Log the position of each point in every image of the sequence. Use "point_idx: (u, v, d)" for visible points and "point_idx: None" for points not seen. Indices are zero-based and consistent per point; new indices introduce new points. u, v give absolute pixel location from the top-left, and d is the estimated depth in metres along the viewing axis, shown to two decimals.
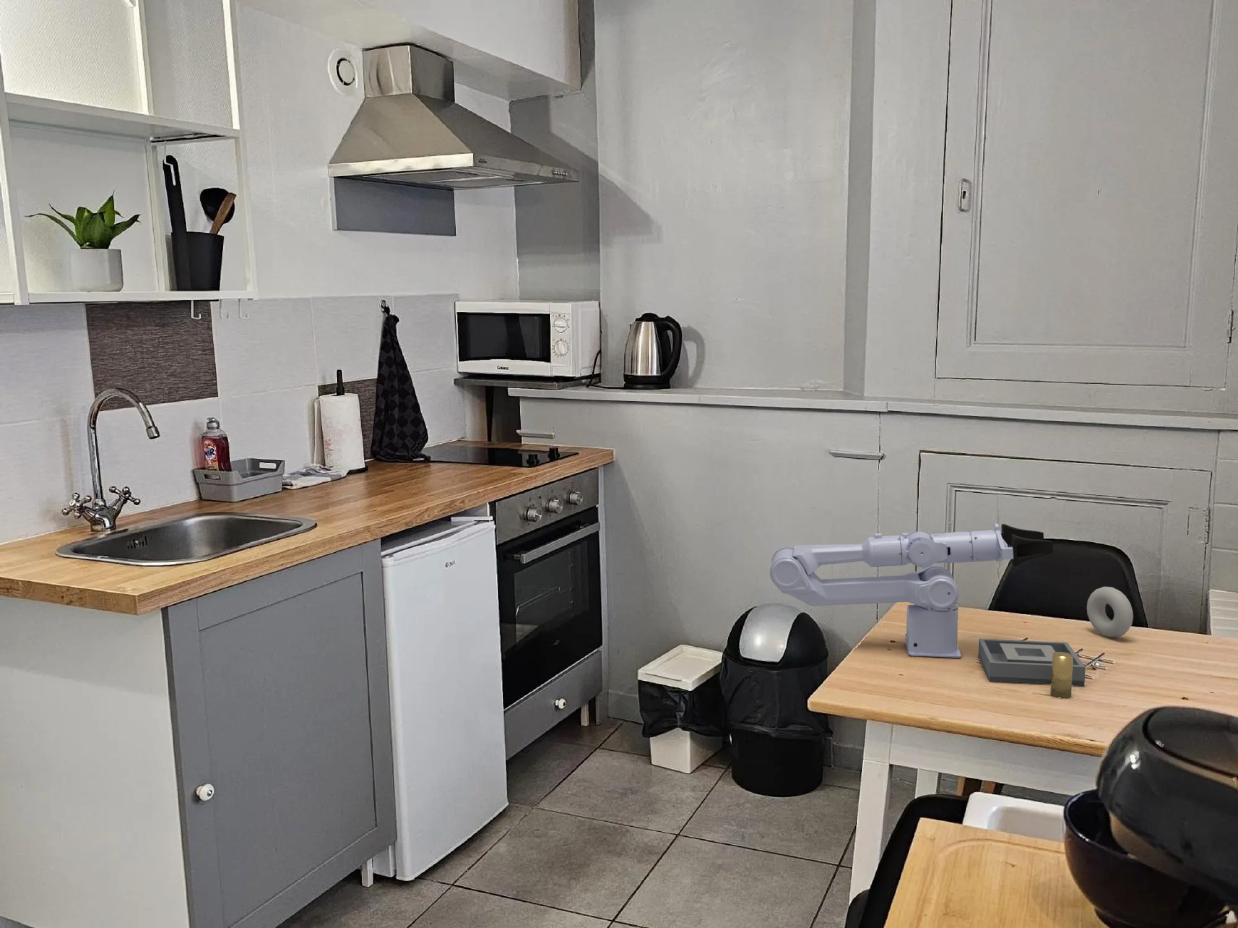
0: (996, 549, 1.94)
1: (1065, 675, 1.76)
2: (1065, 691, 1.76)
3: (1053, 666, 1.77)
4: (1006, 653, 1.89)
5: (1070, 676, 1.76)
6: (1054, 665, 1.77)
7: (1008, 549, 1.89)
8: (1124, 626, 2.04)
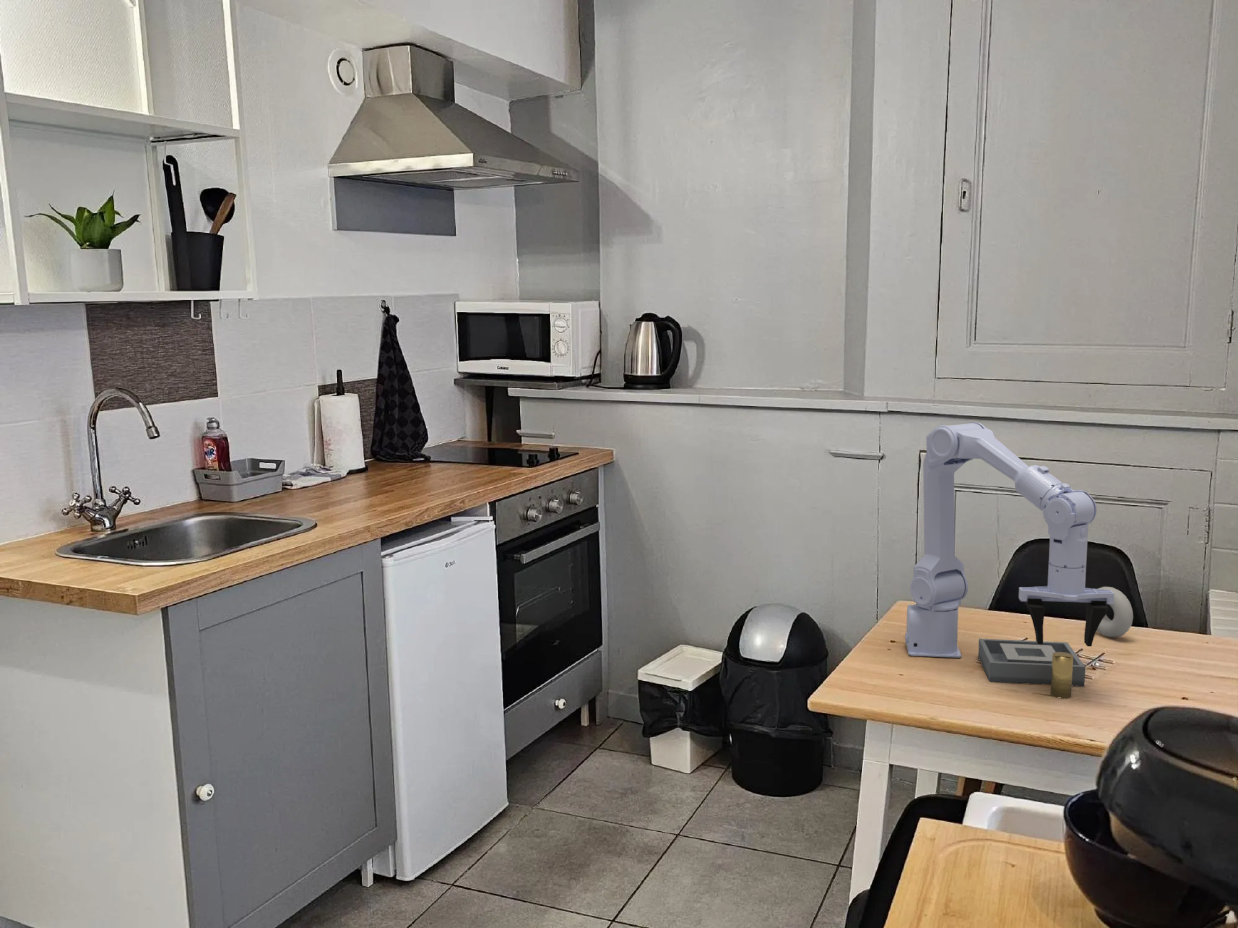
0: (1047, 587, 1.76)
1: (1065, 675, 1.76)
2: (1065, 691, 1.76)
3: (1053, 666, 1.77)
4: (1006, 653, 1.89)
5: (1070, 676, 1.76)
6: (1054, 665, 1.77)
7: (1020, 596, 1.76)
8: (1124, 626, 2.04)
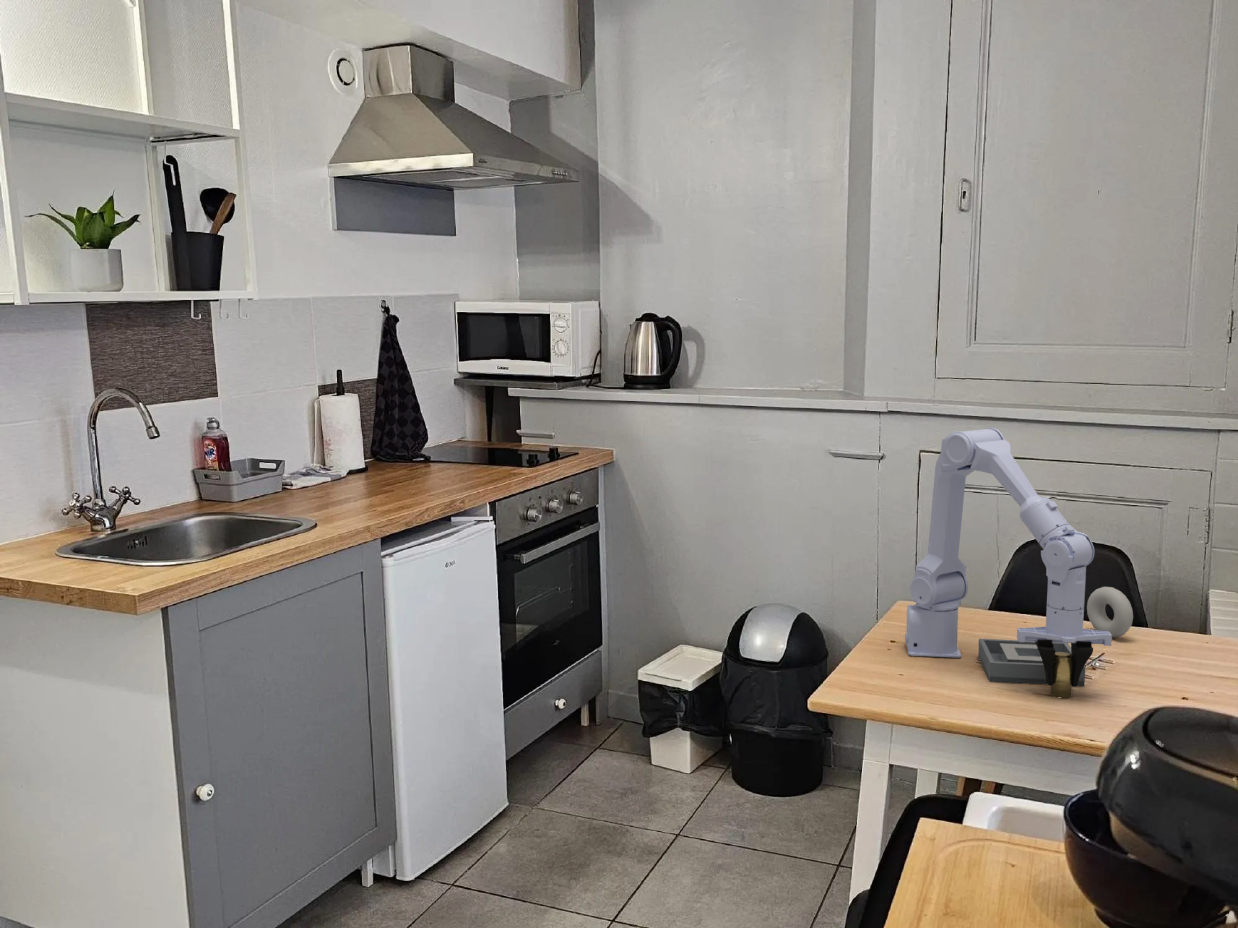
0: (1045, 628, 1.77)
1: (1065, 675, 1.76)
2: (1065, 691, 1.76)
3: (1053, 666, 1.77)
4: (1006, 653, 1.89)
5: (1070, 676, 1.76)
6: (1054, 665, 1.77)
7: (1018, 637, 1.77)
8: (1124, 626, 2.04)
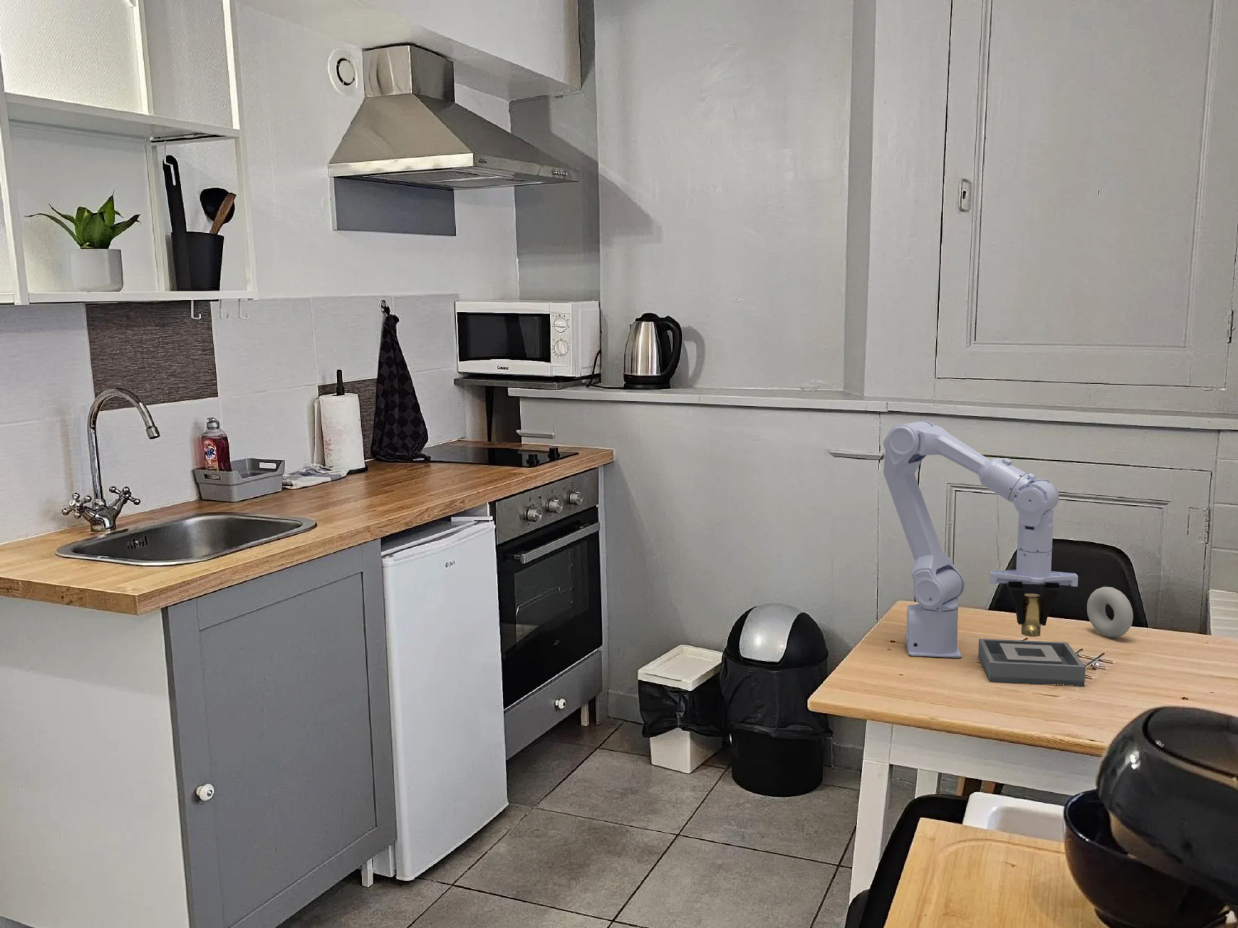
0: (1016, 571, 1.88)
1: (1035, 614, 1.87)
2: (1034, 630, 1.87)
3: (1023, 606, 1.88)
4: (1006, 653, 1.89)
5: (1039, 615, 1.87)
6: (1024, 606, 1.88)
7: (991, 579, 1.88)
8: (1124, 626, 2.04)
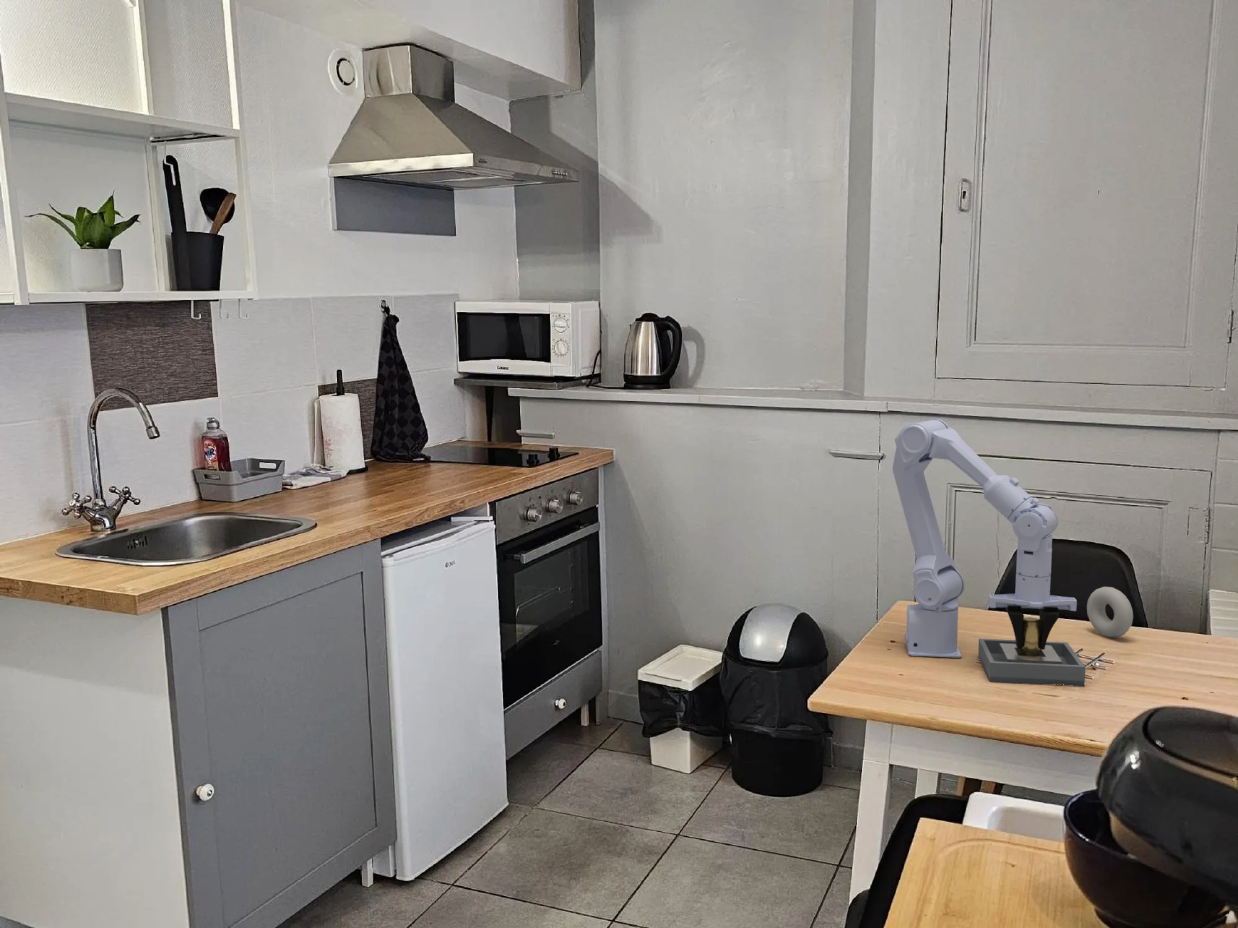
0: (1015, 595, 1.89)
1: (1034, 638, 1.87)
2: (1033, 654, 1.88)
3: (1022, 630, 1.89)
4: (1006, 653, 1.89)
5: (1038, 639, 1.88)
6: (1023, 630, 1.88)
7: (990, 603, 1.89)
8: (1124, 626, 2.04)
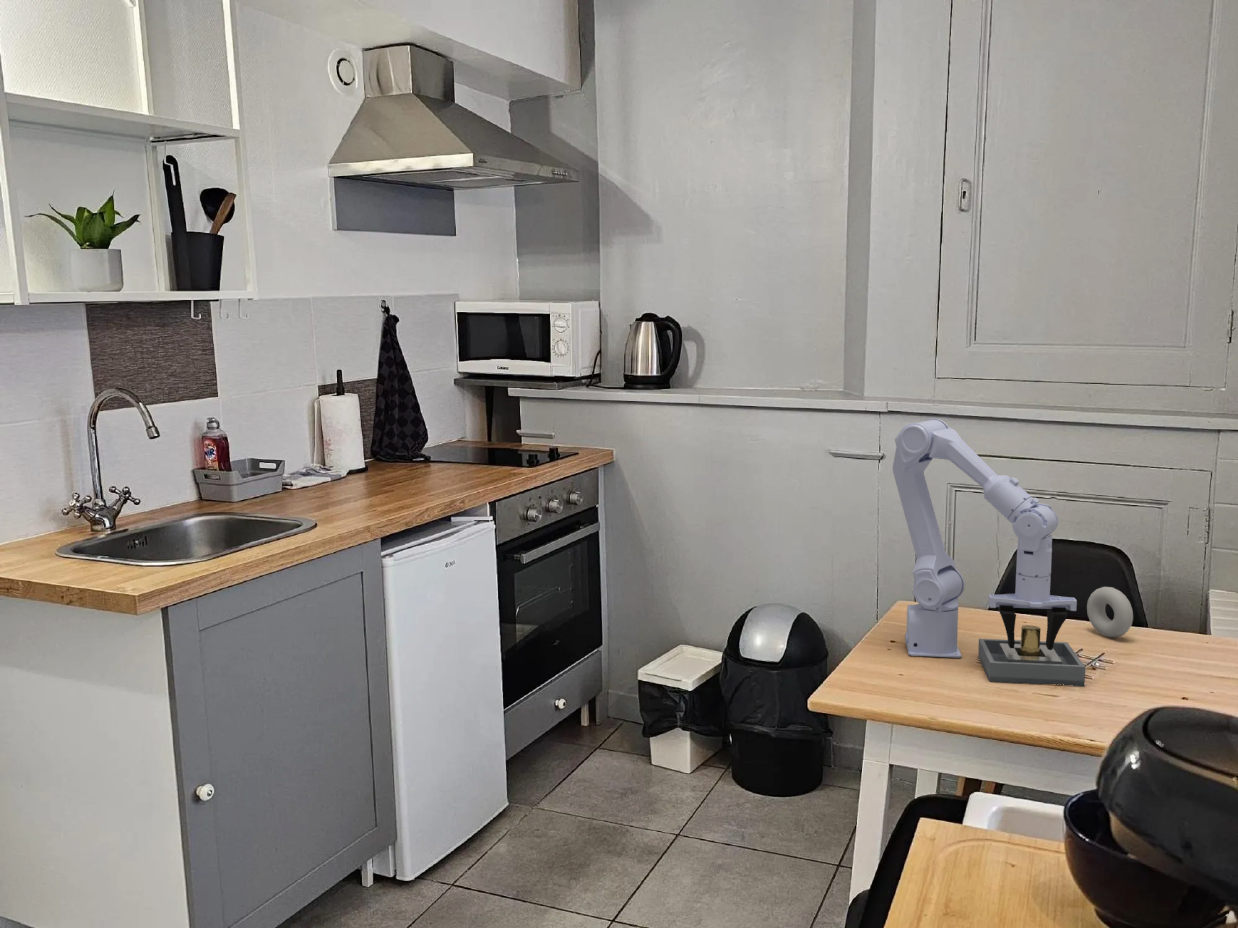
0: (1015, 595, 1.89)
1: (1033, 646, 1.88)
2: None
3: (1022, 638, 1.89)
4: (1006, 653, 1.89)
5: (1038, 647, 1.88)
6: (1023, 638, 1.89)
7: (990, 603, 1.89)
8: (1124, 627, 2.04)
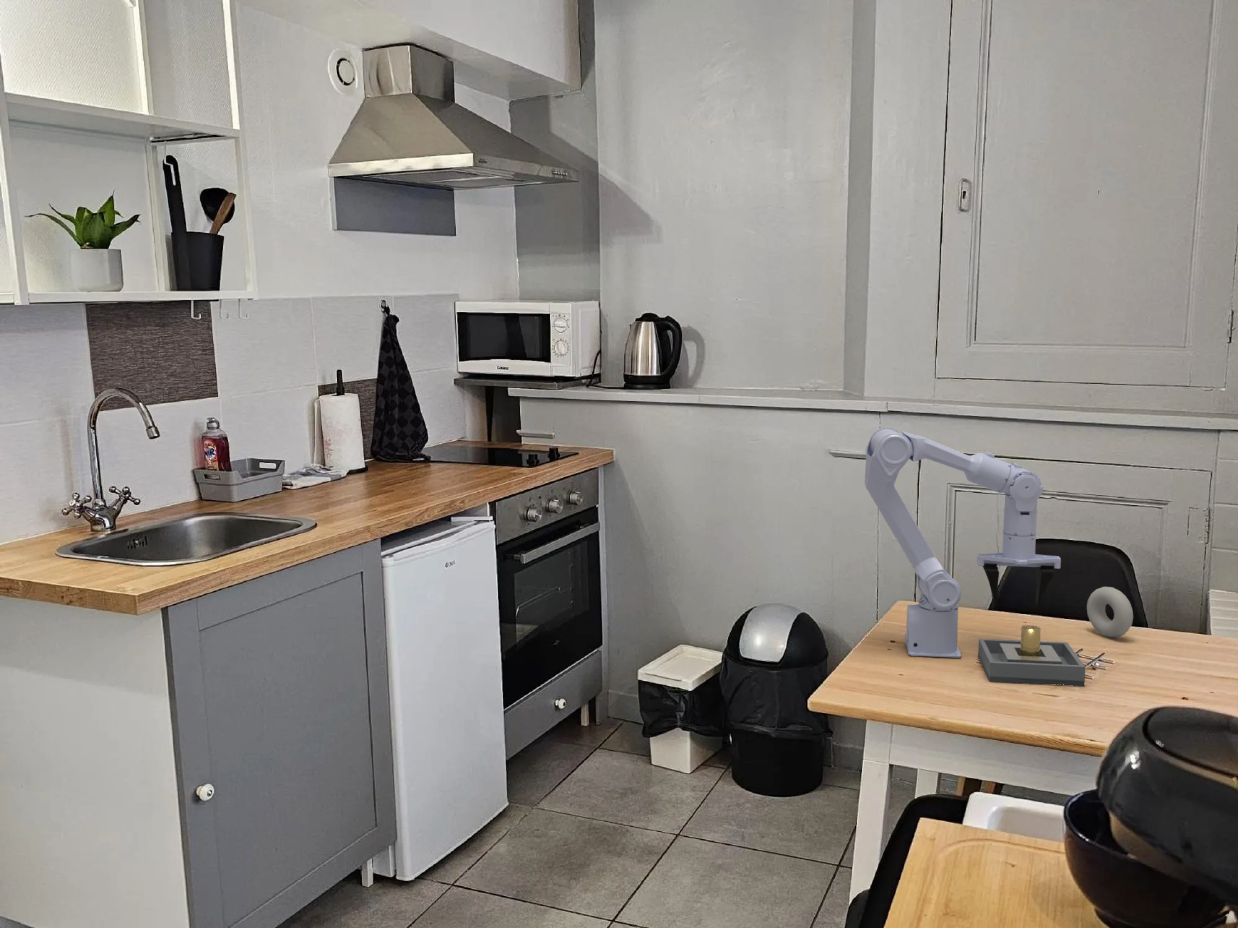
0: (1002, 553, 1.98)
1: (1033, 646, 1.88)
2: None
3: (1022, 638, 1.89)
4: (1006, 653, 1.89)
5: (1038, 647, 1.88)
6: (1023, 638, 1.89)
7: (978, 561, 1.99)
8: (1124, 626, 2.04)
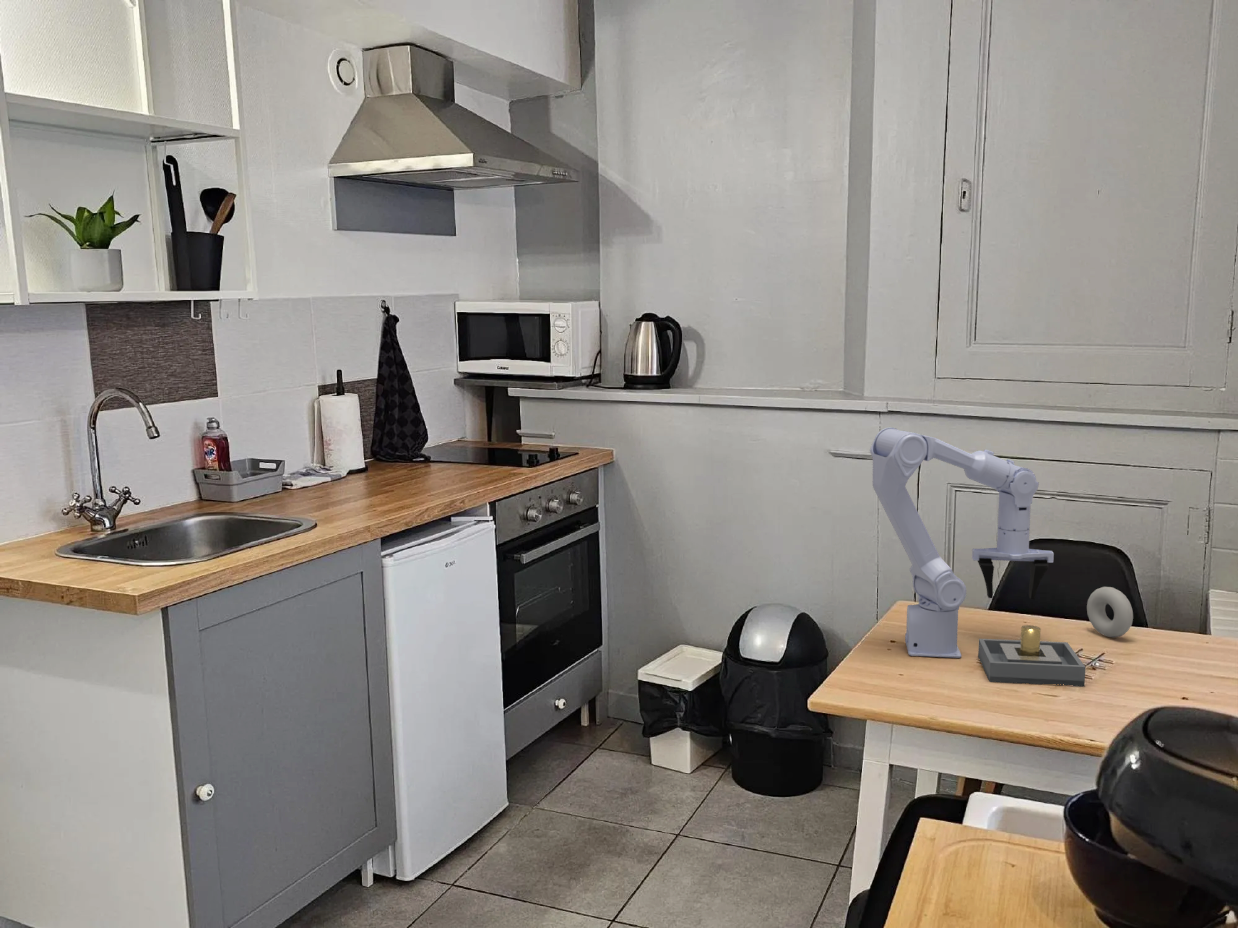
0: (996, 548, 2.03)
1: (1033, 646, 1.88)
2: None
3: (1022, 638, 1.89)
4: (1006, 653, 1.89)
5: (1038, 647, 1.88)
6: (1023, 638, 1.89)
7: (973, 556, 2.03)
8: (1124, 626, 2.04)
